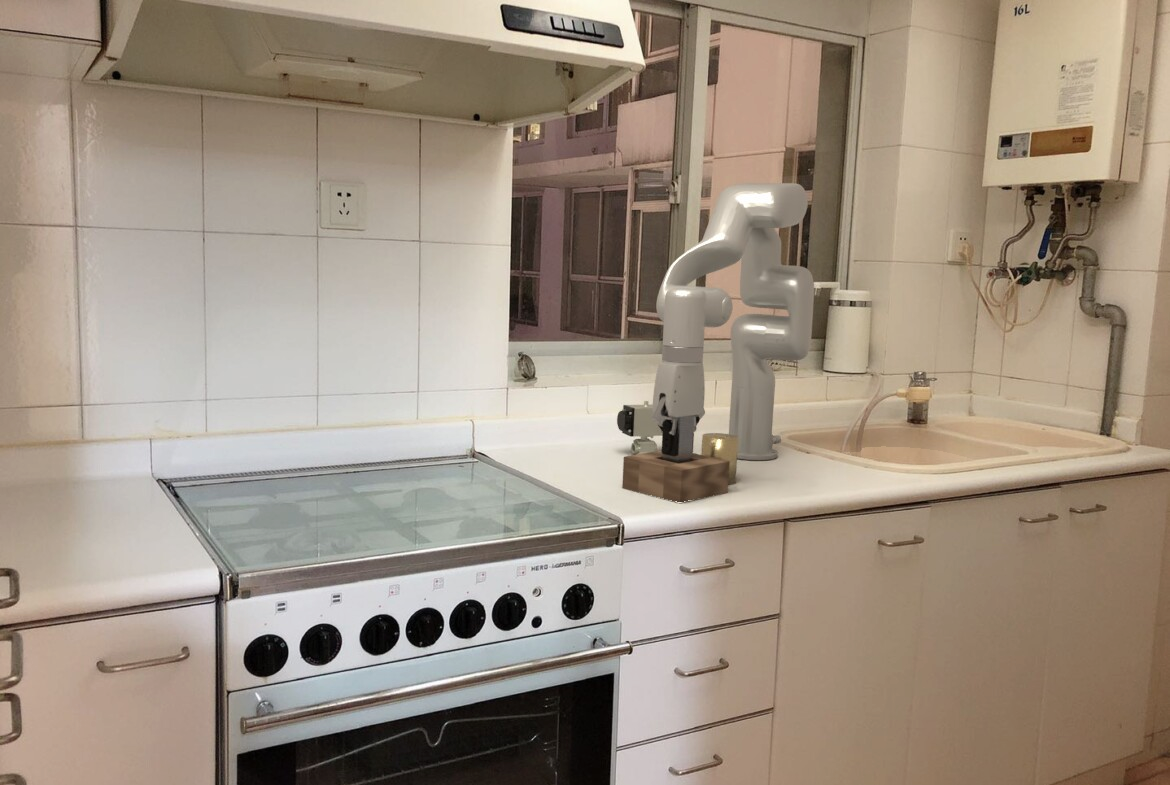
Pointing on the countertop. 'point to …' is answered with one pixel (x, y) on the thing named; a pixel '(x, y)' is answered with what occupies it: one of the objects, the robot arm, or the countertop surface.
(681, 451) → the square bit
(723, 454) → the round bit
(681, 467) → the bore block
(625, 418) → the pneumatic valve
